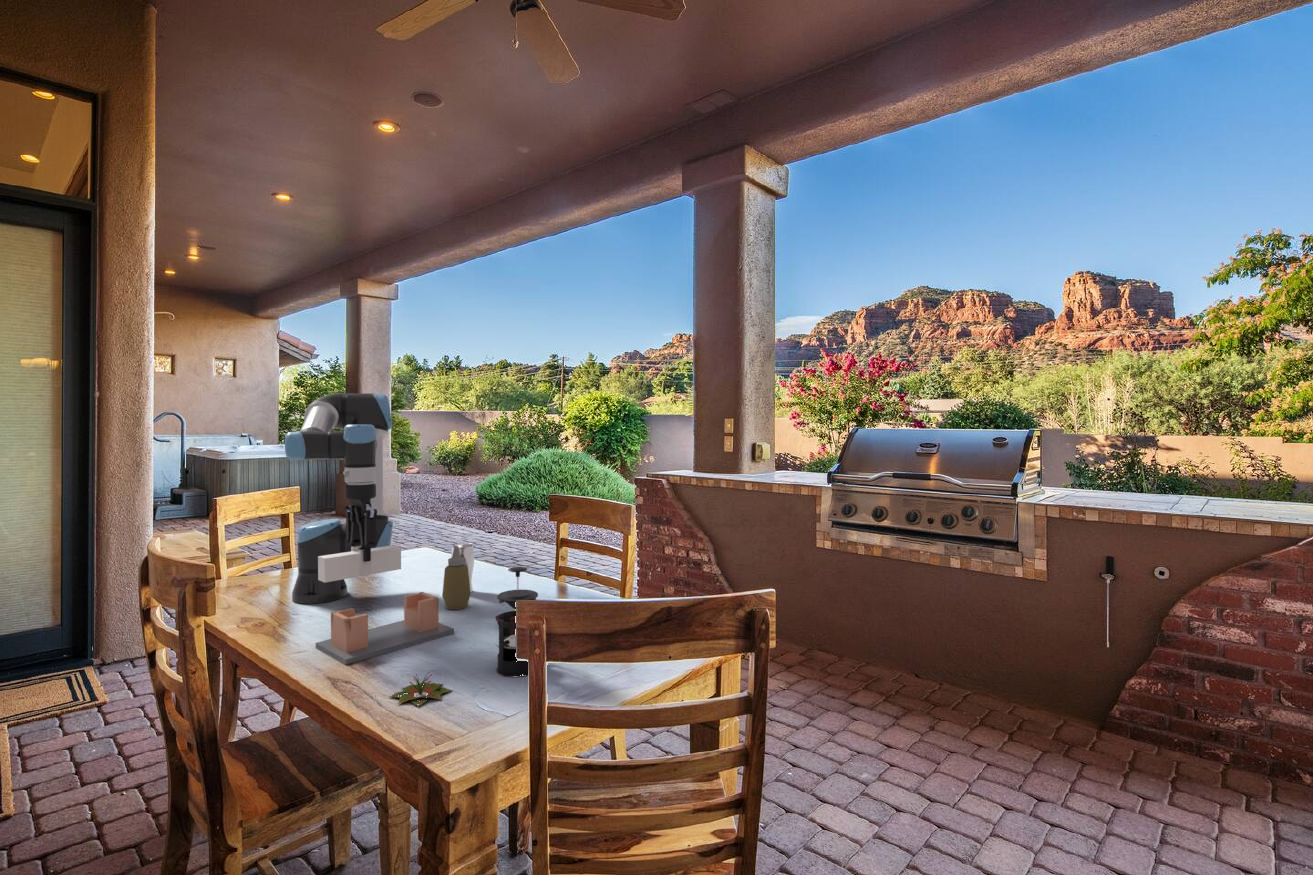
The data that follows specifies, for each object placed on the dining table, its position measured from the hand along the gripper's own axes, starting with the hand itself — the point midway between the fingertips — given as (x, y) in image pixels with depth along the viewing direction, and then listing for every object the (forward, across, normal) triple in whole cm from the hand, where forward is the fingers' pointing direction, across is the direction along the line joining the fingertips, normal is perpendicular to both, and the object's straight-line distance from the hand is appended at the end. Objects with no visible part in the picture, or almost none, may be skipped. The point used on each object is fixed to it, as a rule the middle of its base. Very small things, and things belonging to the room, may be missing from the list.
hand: (361, 571), depth 172 cm
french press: (+16, +51, +12) cm, 55 cm away
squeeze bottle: (+15, +1, +28) cm, 32 cm away
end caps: (+16, +12, +1) cm, 20 cm away
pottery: (+16, +33, +26) cm, 45 cm away
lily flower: (+17, +47, -10) cm, 51 cm away
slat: (+1, 0, 0) cm, 1 cm away
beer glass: (+15, -11, +37) cm, 42 cm away
